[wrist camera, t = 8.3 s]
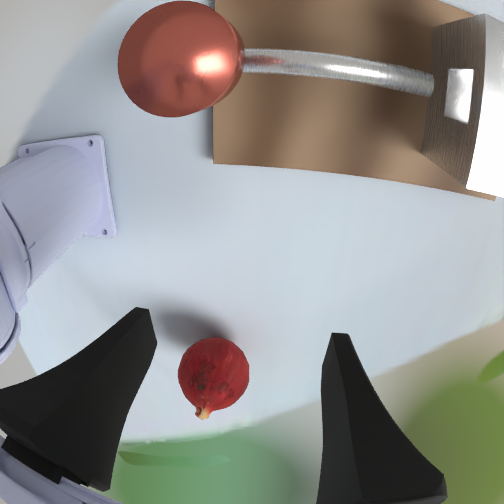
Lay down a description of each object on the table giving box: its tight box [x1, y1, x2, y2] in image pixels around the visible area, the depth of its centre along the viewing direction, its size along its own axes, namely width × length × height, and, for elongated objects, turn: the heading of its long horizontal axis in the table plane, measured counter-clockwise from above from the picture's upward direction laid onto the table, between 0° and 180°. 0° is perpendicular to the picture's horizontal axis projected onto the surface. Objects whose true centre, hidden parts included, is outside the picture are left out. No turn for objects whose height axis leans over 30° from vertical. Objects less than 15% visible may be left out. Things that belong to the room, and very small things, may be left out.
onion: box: [178, 337, 249, 420], centre depth 24 cm, size 6×6×8 cm
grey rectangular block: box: [421, 14, 504, 197], centre depth 11 cm, size 2×8×6 cm, turn 178°
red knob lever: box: [118, 1, 434, 117], centre depth 11 cm, size 12×4×7 cm, turn 88°
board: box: [213, 0, 496, 201], centre depth 14 cm, size 19×12×1 cm, turn 88°
